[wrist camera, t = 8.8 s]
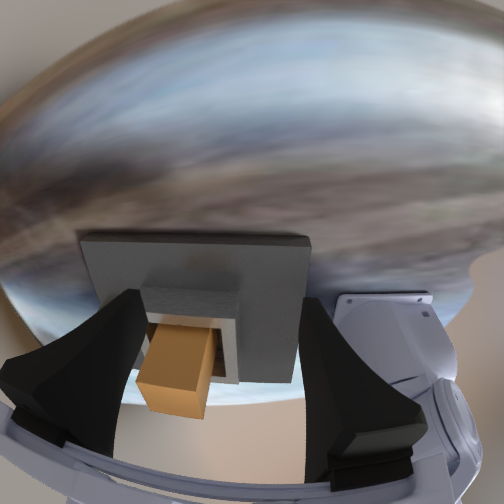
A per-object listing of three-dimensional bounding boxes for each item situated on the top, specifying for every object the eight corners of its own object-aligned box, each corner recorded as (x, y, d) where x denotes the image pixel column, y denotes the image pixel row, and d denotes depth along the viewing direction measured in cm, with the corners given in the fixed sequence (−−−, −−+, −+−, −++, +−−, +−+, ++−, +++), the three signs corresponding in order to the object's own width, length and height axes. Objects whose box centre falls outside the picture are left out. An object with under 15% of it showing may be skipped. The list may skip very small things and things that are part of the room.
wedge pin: (215, 307, 22) (195, 391, 15) (218, 341, 24) (203, 419, 17) (167, 303, 23) (135, 381, 16) (174, 336, 25) (150, 410, 18)
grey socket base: (308, 236, 21) (317, 271, 17) (290, 372, 28) (291, 407, 25) (88, 233, 21) (59, 260, 18) (131, 358, 29) (119, 388, 25)
